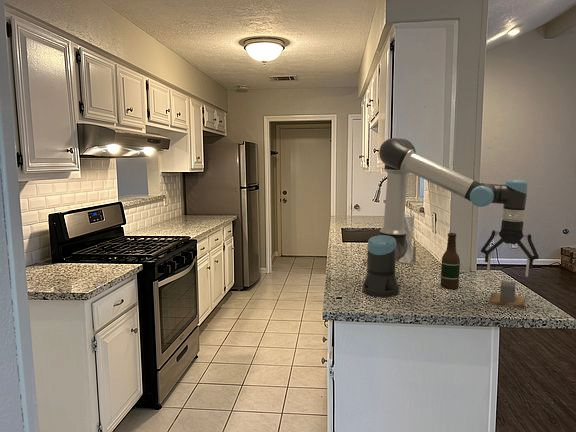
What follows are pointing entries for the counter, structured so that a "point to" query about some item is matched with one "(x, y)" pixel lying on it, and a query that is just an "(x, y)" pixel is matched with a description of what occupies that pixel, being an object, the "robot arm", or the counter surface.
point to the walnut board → (517, 302)
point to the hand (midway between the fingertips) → (507, 273)
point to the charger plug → (507, 291)
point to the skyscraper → (409, 240)
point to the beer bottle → (450, 265)
